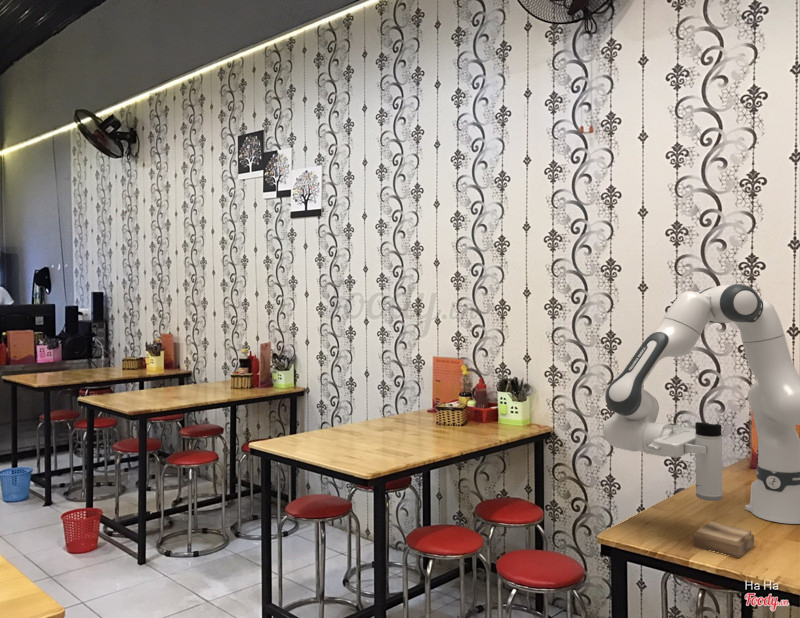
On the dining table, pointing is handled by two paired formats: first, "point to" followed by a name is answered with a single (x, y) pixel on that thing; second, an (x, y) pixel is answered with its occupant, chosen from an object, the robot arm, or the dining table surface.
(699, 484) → the travel mug
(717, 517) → the dining table surface
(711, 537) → the plinth
